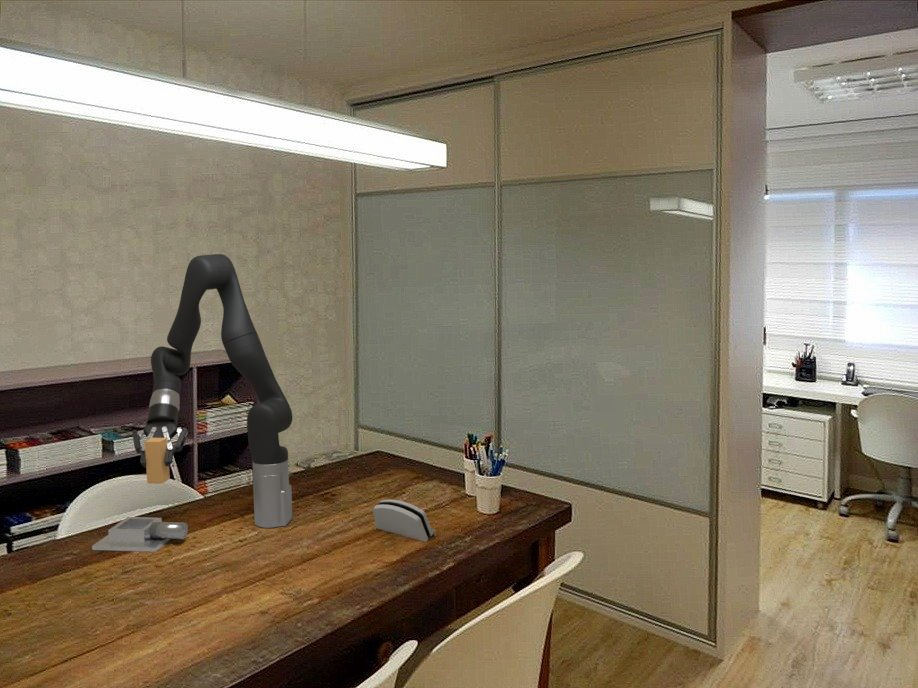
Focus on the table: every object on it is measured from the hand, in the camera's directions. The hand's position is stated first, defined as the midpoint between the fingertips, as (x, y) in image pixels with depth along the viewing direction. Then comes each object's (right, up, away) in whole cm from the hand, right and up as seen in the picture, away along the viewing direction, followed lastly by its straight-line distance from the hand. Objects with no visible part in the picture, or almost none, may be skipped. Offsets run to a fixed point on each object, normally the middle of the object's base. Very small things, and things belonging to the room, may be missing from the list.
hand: (155, 465), depth 182 cm
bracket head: (-1, -19, -3) cm, 19 cm away
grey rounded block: (+63, -18, +2) cm, 66 cm away
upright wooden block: (0, -5, +2) cm, 5 cm away
